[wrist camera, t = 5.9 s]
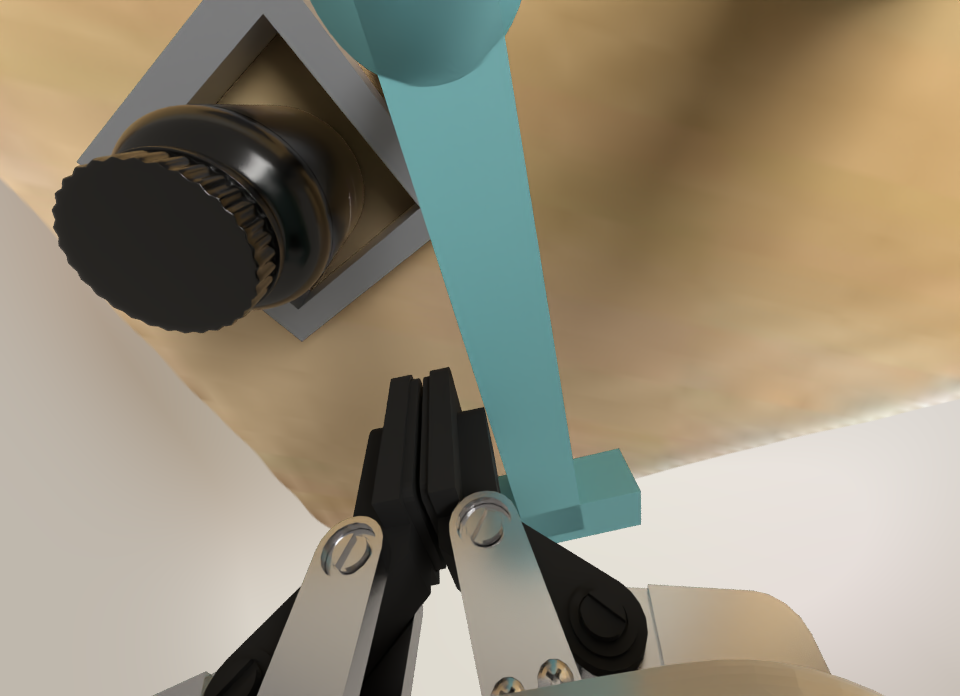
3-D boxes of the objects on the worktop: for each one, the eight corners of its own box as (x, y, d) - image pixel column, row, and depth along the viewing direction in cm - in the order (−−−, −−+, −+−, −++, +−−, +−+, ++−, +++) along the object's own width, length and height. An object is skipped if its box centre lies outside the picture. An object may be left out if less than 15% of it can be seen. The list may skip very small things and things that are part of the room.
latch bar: (198, -103, 6) (115, -172, 4) (581, -234, 5) (634, -358, 4) (473, 515, 15) (476, 560, 14) (620, 481, 15) (640, 524, 13)
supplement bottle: (384, 229, 22) (338, 341, 12) (270, 255, 22) (130, 386, 12) (336, 87, 18) (207, 72, 8) (199, 120, 18) (-94, 146, 8)
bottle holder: (278, -43, 15) (253, -65, 13) (460, 202, 21) (462, 213, 19) (117, 154, 19) (76, 161, 17) (313, 320, 24) (301, 341, 22)
